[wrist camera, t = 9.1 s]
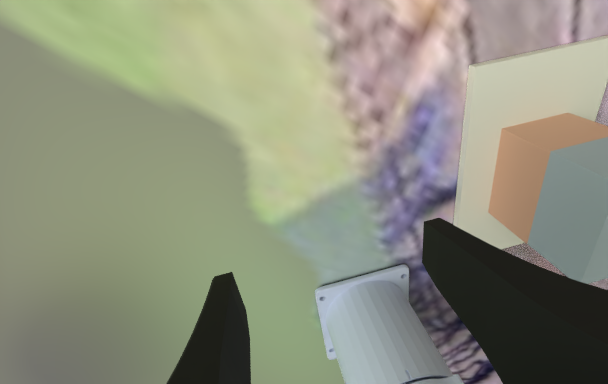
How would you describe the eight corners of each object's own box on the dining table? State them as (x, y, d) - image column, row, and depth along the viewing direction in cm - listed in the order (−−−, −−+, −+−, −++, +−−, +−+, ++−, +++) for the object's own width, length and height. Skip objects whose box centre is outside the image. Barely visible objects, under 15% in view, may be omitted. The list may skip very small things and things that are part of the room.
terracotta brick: (545, 197, 27) (591, 226, 24) (488, 212, 27) (526, 244, 23) (568, 112, 23) (626, 132, 20) (501, 128, 23) (550, 151, 20)
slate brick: (592, 225, 24) (653, 264, 20) (527, 243, 23) (579, 286, 20) (626, 132, 20) (709, 160, 17) (550, 151, 20) (619, 184, 16)
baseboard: (554, 229, 30) (559, 233, 30) (449, 257, 29) (453, 262, 29) (612, 33, 22) (622, 34, 21) (469, 65, 21) (475, 66, 20)
